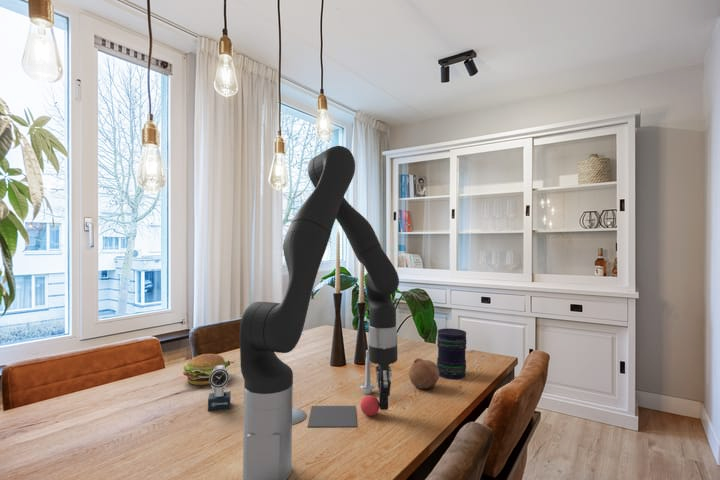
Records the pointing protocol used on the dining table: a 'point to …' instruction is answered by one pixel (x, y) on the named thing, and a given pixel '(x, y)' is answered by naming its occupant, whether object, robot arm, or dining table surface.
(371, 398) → the ball
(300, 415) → the disc
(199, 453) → the dining table surface
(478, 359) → the dining table surface
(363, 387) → the screw
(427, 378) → the onion
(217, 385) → the watch
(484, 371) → the dining table surface
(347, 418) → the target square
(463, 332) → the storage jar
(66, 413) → the dining table surface
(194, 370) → the food
